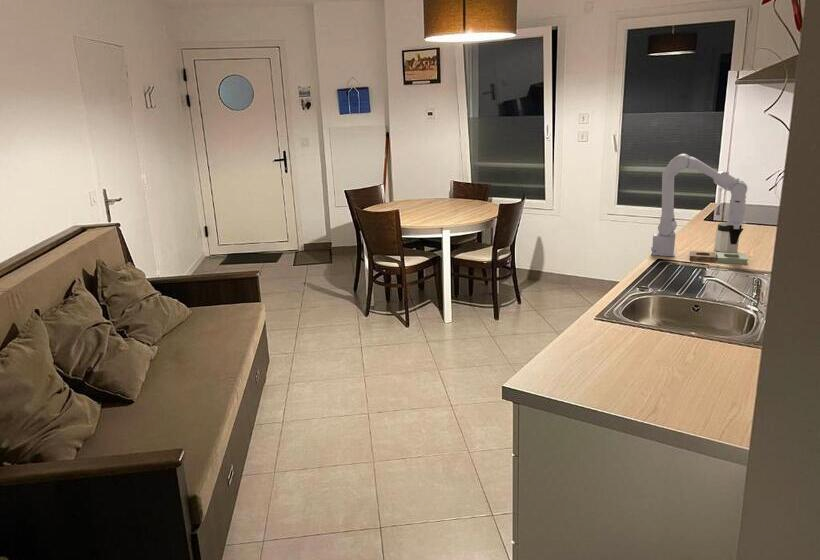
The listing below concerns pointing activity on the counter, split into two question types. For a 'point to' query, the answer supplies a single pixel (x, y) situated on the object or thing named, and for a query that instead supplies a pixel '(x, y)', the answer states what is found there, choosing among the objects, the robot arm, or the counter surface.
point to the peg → (731, 245)
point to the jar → (721, 237)
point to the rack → (731, 258)
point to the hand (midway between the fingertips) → (733, 243)
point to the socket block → (702, 256)
